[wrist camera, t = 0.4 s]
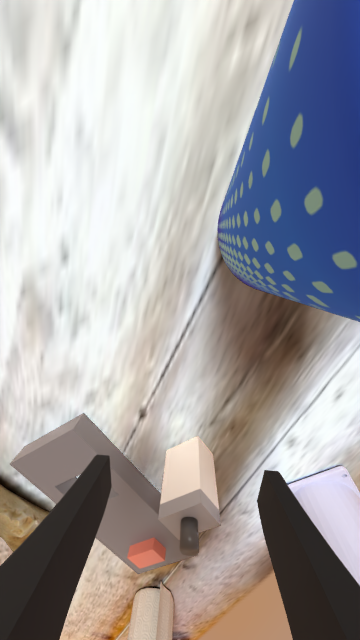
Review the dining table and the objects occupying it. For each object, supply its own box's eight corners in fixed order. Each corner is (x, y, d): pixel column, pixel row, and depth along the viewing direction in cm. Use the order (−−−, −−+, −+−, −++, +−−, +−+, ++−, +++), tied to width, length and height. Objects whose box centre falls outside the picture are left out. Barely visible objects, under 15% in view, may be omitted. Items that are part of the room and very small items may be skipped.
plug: (213, 454, 22) (224, 553, 15) (181, 467, 23) (177, 568, 15) (198, 435, 21) (201, 530, 14) (166, 450, 22) (154, 546, 15)
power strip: (197, 533, 26) (198, 567, 23) (141, 552, 28) (135, 586, 25) (83, 413, 21) (66, 438, 18) (24, 446, 23) (1, 473, 20)
